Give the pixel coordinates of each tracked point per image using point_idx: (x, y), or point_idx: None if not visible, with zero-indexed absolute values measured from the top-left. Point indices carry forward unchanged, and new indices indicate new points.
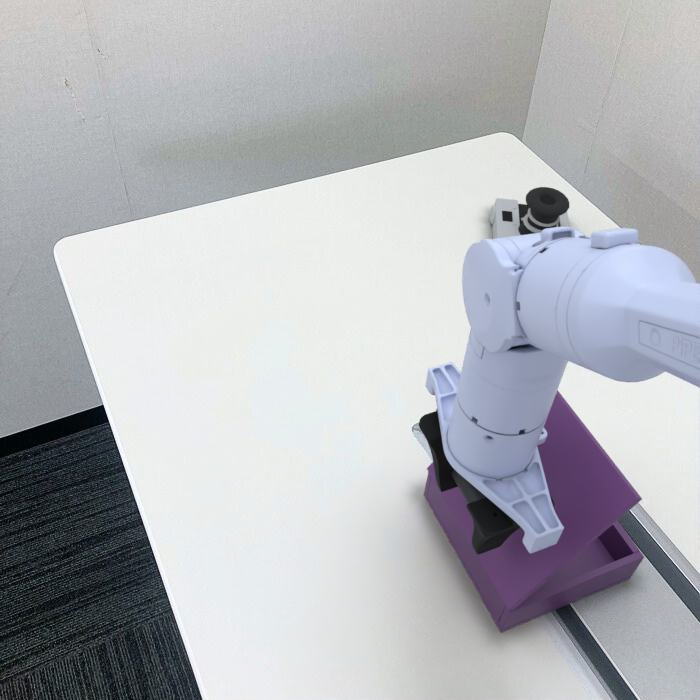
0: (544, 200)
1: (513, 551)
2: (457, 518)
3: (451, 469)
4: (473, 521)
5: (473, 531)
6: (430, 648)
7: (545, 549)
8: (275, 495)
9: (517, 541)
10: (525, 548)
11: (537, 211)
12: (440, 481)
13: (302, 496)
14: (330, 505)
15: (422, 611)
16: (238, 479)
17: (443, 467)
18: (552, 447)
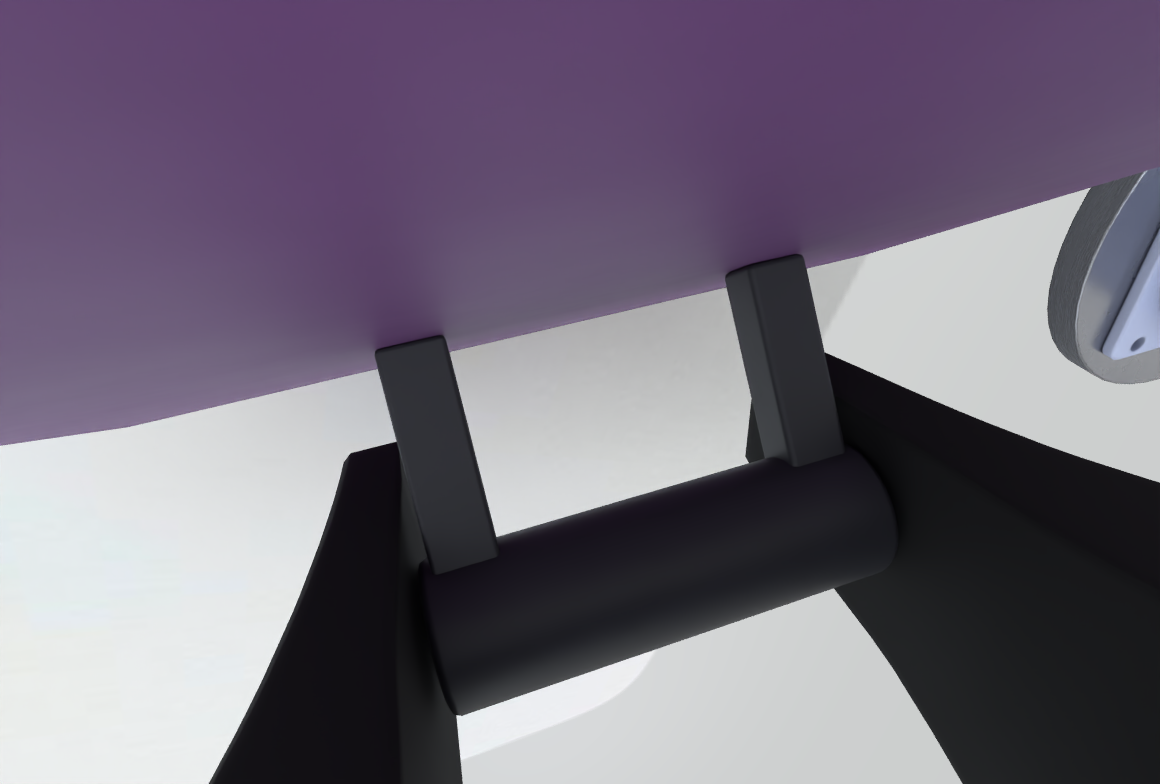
0: None
1: (813, 258)
2: (458, 349)
3: (440, 694)
4: (949, 755)
5: (862, 623)
6: (710, 370)
7: (1041, 194)
8: (183, 682)
9: (820, 253)
10: (885, 237)
11: None
12: None
13: (185, 631)
14: (222, 570)
15: (617, 373)
16: (125, 753)
17: (457, 779)
18: (1103, 20)
